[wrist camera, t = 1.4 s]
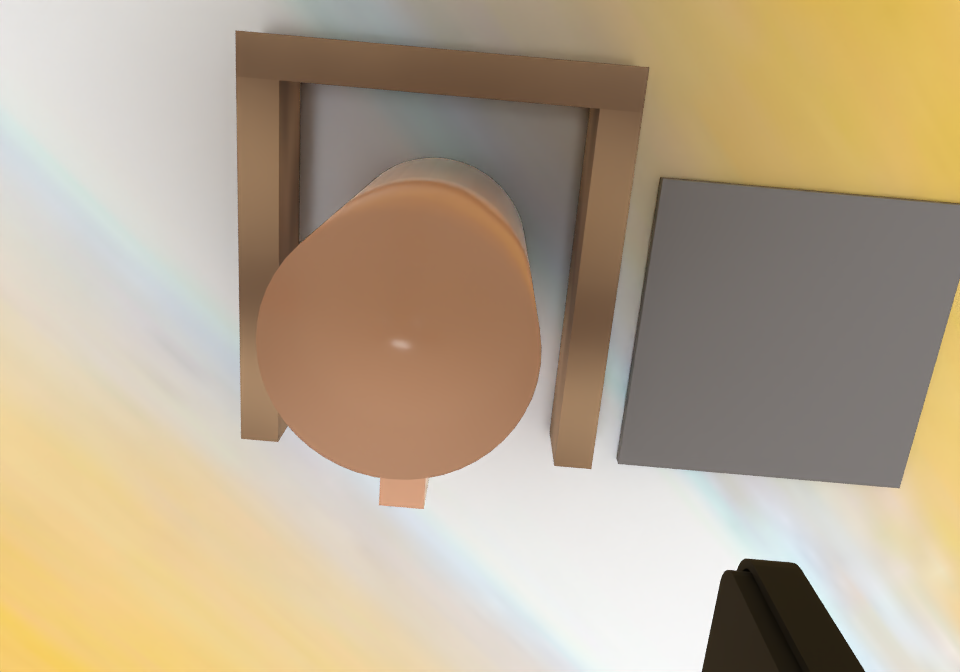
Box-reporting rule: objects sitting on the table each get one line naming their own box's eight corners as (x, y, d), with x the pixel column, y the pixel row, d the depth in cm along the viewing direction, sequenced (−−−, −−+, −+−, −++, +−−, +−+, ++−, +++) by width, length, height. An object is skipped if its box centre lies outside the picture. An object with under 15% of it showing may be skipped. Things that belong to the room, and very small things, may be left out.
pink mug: (346, 149, 25) (255, 197, 16) (535, 165, 25) (556, 223, 16) (339, 395, 28) (257, 563, 18) (509, 410, 28) (514, 585, 18)
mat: (660, 177, 25) (663, 178, 25) (973, 204, 25) (980, 206, 25) (616, 458, 28) (618, 463, 28) (893, 482, 28) (899, 488, 28)
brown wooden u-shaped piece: (261, 34, 24) (235, 30, 22) (634, 67, 24) (649, 67, 22) (262, 407, 28) (241, 438, 26) (583, 435, 28) (591, 468, 26)
